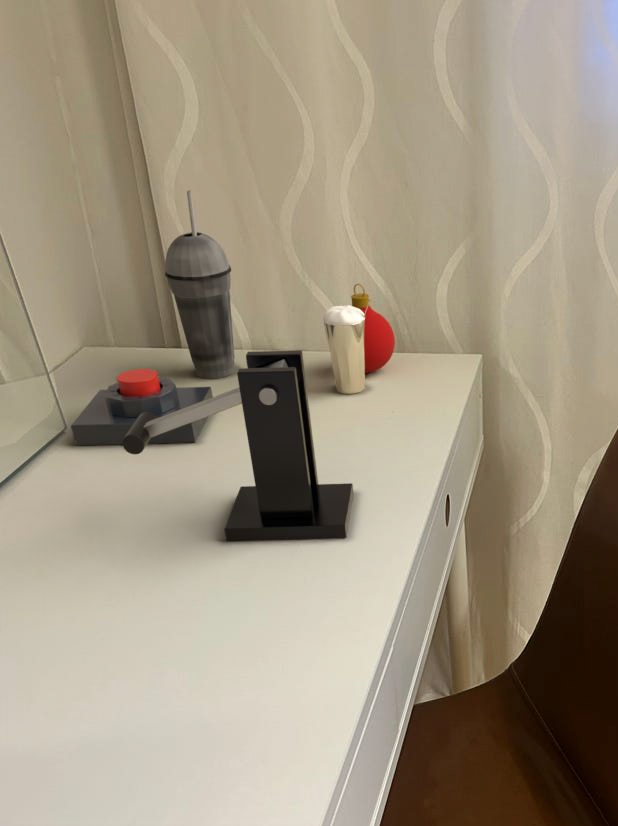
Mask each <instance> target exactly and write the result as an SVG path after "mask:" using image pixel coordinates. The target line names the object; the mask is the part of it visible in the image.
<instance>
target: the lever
mask: <svg viewBox="0 0 618 826" xmlns="http://www.w3.org/2000/svg"><path fill="white" fill-rule="evenodd" d="M280 367H288V366H287V363H286V361H285V360H284V359H283V360H281V361H278V362H275V363H273V364H270V365H267V366H265V367H262V368H280ZM240 405H242V400H241V394H240V388H239V387H237V388H234V389H231V390H229V391H226V392H224V393H221V394H217V395H215V396H213V398H210V399H207V400H205V401H202V402H199V403H197V404H194V405H191V406H189V407H186V408H183V409H181V410H178V411H175V412H173V413H170V414H167V415H165V416H162V417H159V418H157V417H156V416H155V415H154V414H153V413H150V412H143V413H141V414H140V415H139V417H138V418H137V420H136V421H135V423H134V424H133V426H132V427H131V428H130V430H129V431H128V433H127V434H126V436H125V437H124V439H123V442H122V444H121V445H122V447H123V449H124V450H125V452H127V453H128V454H131V455H139V454H141V453H143V452H144V450H145V448H146V447H147V445H148V444H147V443H148V442H149V440H150V438H151V437H154V436H156V435H159V434H162V433H164V432H167V431H170V430H172V429H175V428H178V427H180V426H183V425H186V424H188V423H191V422H194V421H196V420H199V419H202V418H205V417H207V416H209V417H210V416H213V415H215V414H218V413H220V412H224V411H226V410H229V409H231V408H234V407H236V406H240Z"/></svg>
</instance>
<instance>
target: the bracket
mask: <svg viewBox="0 0 618 826" xmlns="http://www.w3.org/2000/svg"><path fill="white" fill-rule="evenodd" d="M283 359H284V360H285V361H286V363H287V366H288V367H280V368H262V367H265V366H267V365H270V364H273V363H275V362H278V361H281V360H283ZM245 360H246V367H244V368H238V370H237V373H236V374H237V381H238V386H239V387H238V388H240V394H241V400H242V404H241V405H242V406H241V407H242V412H243V413H242V414H243V418H244V425H245V430H246V431H245V432H246V436H247V442H248V450H249V454H250V461H251V467H252V473H253V478H254V479H253V481H254V485H249V486H246V485H245V486H243V485H242V486H240V488H239V490H238V493H237V495H236V498H235V500H234V503H233V505H232V508H231V510H230V513H229V515H228V517H227V520H226V524H225V525H224V528H223V531H224V536H225V540H226V542H244V541H245V542H246V541H247V542H249V541H251V542H252V541H279V540H281V541H282V540H285V541H286V540H313V539H314V540H315V539H317V540H318V539H319V540H320V539H346V538H347V535H348V531H349V530H348V529H349V524H350V517H351V513H352V506H353V500H354V495H355V494H354V485H353V483H351V482H350V483H319V478H318V471H317V463H316V462H317V461H316V454H315V445H314V438H313V437H314V436H313V429H312V421H311V420H312V419H311V413H310V404H309V403H310V402H309V396H308V387H307V381H306V379H307V378H306V372H305V363H304V355H303V350H301V349H300V350H299V349H298V350H263V351H261V350H260V351H258V350H257V351H247V353H246V354H245Z"/></svg>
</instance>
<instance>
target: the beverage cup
mask: <svg viewBox="0 0 618 826" xmlns="http://www.w3.org/2000/svg"><path fill="white" fill-rule="evenodd" d="M186 195H187V196H186V197H187V205H188V212H189V220H190V221H189V222H190V229H191V231H189V232H185V233H182V234H180V235H179V236H177V237H176V238H174V239H173V241H172V242H171V243H170V245H169V247H168V248H167V251H166V255H165V259H164V260H165V261H164V262H165V263H164V267H165V268H164V269H165V272H164V277H166V278H167V282H168V286H169V289H170V291H171V293H172V294H173V297H174V300H175V305H176V308H177V311H178V315H179V319H180V322H181V326H182V329H183V333H184V337H185V340H186V344H187V348H188V351H189V355H190V358H191V362H192V363H193V367H194V369H195V374H196V376H197V377H199V378H202V379H209V380H210V379H211V380H214V379H221V378H226V377H229V376H231V375H233V374H234V373H235V372H236V367H235V348H234V347H235V345H234V334H233V331H234V330H233V321H232V319H233V318H232V305H231V292H230V290H231V272H232V268H231V265H230V264H229V263H230V262H229V259H228V257H227V254H226V252H225V250H224V248H223V247H222V246H221V244H219V242H218V241H216V240H215V239H214V237H213V238H212V237H211V236H210V235H208V234H206V233H203V232H199V231H197V226H196V216H195V209H194V200H193V194H192V190H186Z"/></svg>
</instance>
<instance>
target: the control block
mask: <svg viewBox="0 0 618 826" xmlns="http://www.w3.org/2000/svg"><path fill="white" fill-rule="evenodd" d="M158 379H159V383H160V388H161V390H160V391H158V392H155V393H153V394H149V395H144V396H135V397H128V396H123V395H121V394H120V390H119V386H118V382H115V383H113V384H110V385H109V386H108V387H107V388H106V389H99V390H98V391H97V393H96V394H95V395H94V396H93V398H92V399H91V400H90V401H89V403H88V404H87V405H86V406H85V407H84V409H83V410H82V411H81V412H80V414H79V415H78V416H77V417H76V418H75V420H74V421H73V422H72V423H71V424H70V427H71V431H72V436H73V438H74V442H75V445H76V446H77V447H78V446H107V445H108V446H110V445H111V446H112V445H123V444H122V442H123V439H124V437H125V436H126V434H127V433H128V431H129V430H130V428H131V427H132V426H133V424H134V423H135V421H136V420H137V418H138V417H139V415H140V414H141V413H143V412H150V413H153V414H154V415H155V416H156V417H157V418H159V417H162V416H165V415H167V414H170V413H173V412H175V411H178V410H181V409H183V408H186V407H189V406H191V405H194V404H197V403H199V402H202V401H205V400H207V399H210V398H213V397H214V396H213V390H212V387H211V386H191V387H190V386H189V387H187V386H186V387H185V386H184V387H177V385H176V384H175V382H173V380H171V379H170V378H164V377H159V376H158ZM209 417H210V416H207V417H205V418H202V419H199V420H196V421H194V422H191V423H188V424H186V425H183V426H180V427H178V428H175V429H172V430H170V431H167V432H164V433H162V434H159V435H156V436H154V437H151V438H150V440H149V442H148V443H147V445H148V444H179V443H180V444H182V443H185V444H186V443H188V444H189V443H196V441H197V440H198V438H199V436H200V434H201V432H202V430H203V429H204V426H205V424H206V422H207V421H208V420H209Z"/></svg>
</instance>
